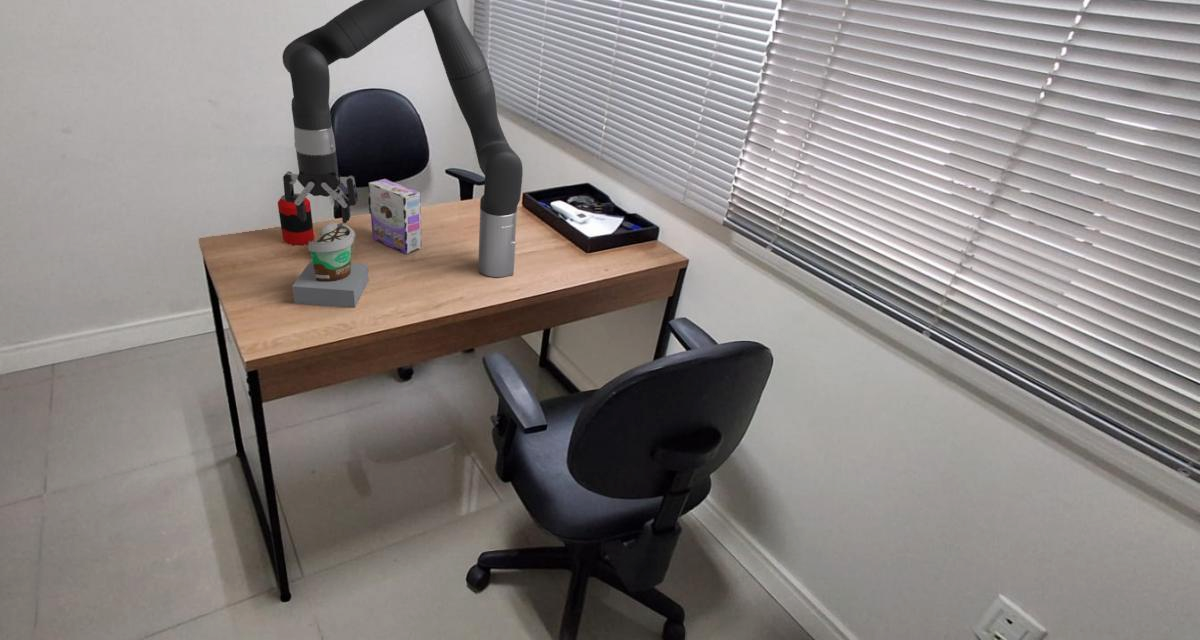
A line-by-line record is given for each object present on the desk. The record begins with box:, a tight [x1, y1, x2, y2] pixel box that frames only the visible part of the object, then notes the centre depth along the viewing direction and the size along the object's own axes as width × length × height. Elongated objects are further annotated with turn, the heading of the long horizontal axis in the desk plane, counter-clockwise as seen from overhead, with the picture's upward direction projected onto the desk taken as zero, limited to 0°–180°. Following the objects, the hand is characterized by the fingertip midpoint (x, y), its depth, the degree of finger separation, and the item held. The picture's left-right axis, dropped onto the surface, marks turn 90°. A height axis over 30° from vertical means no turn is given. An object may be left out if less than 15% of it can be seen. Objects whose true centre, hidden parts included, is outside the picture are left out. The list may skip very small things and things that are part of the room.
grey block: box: [291, 259, 370, 309], centre depth 143 cm, size 13×13×5 cm
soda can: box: [277, 192, 315, 246], centre depth 161 cm, size 8×8×12 cm
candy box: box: [368, 178, 423, 255], centre depth 165 cm, size 14×6×16 cm, turn 58°
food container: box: [307, 224, 354, 281], centre depth 140 cm, size 12×6×10 cm, turn 170°
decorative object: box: [318, 221, 357, 253], centre depth 156 cm, size 9×9×10 cm
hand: (324, 221), depth 135 cm, fingers open, 8 cm apart
